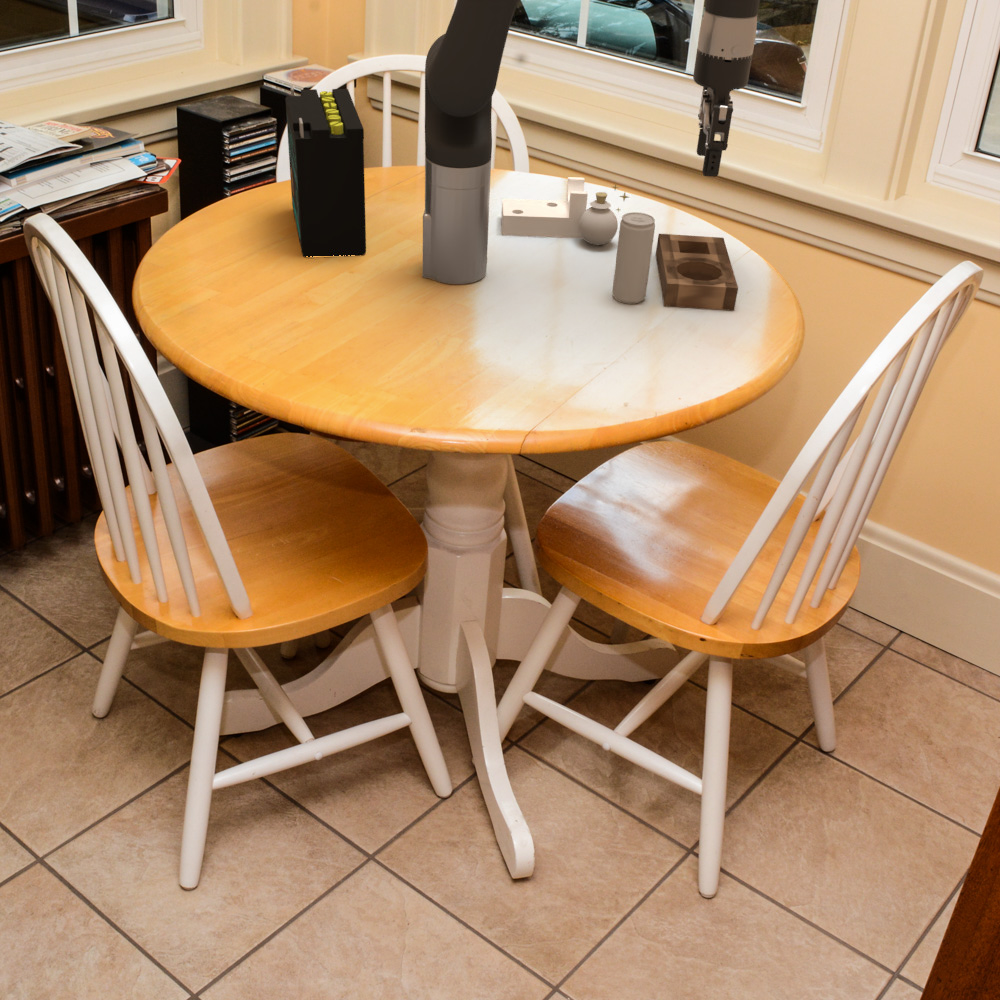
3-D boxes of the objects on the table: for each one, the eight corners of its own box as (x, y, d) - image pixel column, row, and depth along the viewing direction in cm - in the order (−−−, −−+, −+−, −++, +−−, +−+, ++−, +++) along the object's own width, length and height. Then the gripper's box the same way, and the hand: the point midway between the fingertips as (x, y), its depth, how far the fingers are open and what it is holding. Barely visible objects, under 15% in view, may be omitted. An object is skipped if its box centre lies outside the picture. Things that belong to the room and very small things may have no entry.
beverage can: (643, 307, 159) (654, 227, 152) (609, 302, 160) (619, 222, 153) (646, 293, 163) (657, 214, 156) (614, 288, 164) (623, 210, 157)
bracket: (579, 222, 185) (584, 177, 180) (583, 239, 179) (587, 193, 174) (501, 219, 184) (503, 174, 180) (502, 236, 178) (504, 190, 174)
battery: (292, 209, 182) (284, 84, 171) (351, 207, 184) (347, 83, 173) (302, 258, 167) (294, 124, 156) (366, 255, 169) (363, 122, 158)
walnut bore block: (664, 306, 160) (667, 283, 158) (655, 254, 175) (658, 233, 172) (733, 310, 160) (738, 288, 158) (719, 258, 174) (723, 237, 172)
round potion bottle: (578, 234, 180) (584, 173, 174) (624, 238, 179) (631, 177, 173) (576, 249, 175) (582, 187, 169) (623, 253, 174) (631, 191, 169)
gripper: (692, 33, 158) (676, 147, 167) (703, 60, 146) (685, 181, 156) (746, 36, 158) (726, 150, 167) (760, 63, 146) (739, 184, 156)
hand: (706, 165), depth 161 cm, fingers open, 8 cm apart
